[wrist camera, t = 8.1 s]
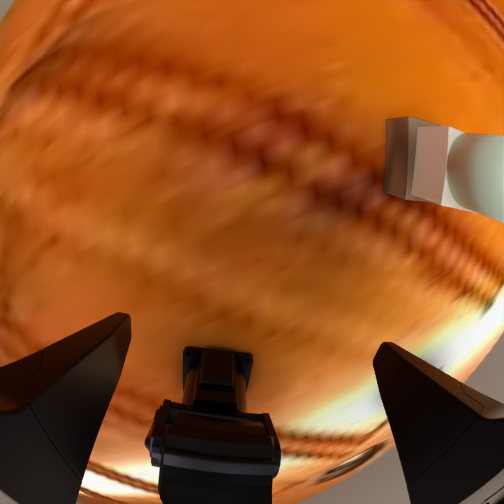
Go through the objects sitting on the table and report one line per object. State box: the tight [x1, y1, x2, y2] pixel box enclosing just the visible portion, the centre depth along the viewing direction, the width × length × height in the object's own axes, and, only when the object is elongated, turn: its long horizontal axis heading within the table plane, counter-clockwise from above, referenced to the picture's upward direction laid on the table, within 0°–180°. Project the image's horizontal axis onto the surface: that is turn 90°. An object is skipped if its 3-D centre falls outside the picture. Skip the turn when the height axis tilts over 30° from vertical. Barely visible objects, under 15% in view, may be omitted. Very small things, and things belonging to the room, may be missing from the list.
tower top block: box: [411, 126, 480, 214], centre depth 15 cm, size 5×5×4 cm
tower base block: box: [384, 117, 441, 202], centre depth 18 cm, size 6×6×4 cm
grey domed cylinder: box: [446, 133, 504, 223], centre depth 11 cm, size 5×5×4 cm
